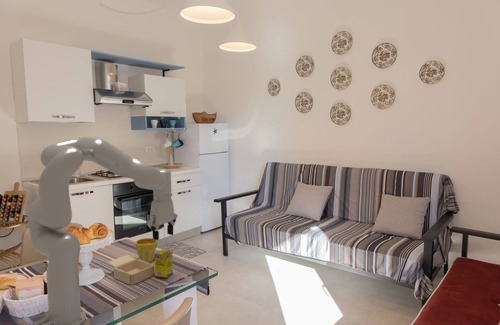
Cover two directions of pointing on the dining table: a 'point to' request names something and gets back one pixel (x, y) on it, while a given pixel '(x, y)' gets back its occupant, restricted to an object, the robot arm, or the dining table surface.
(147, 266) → the carton
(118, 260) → the flap
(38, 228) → the robot arm
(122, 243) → the dining table surface
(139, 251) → the plant pot
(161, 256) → the supplement box
